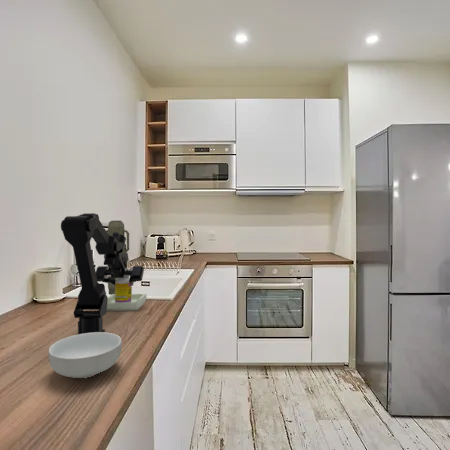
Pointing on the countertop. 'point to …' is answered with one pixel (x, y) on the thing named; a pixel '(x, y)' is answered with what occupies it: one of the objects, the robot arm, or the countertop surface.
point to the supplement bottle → (123, 290)
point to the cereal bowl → (85, 354)
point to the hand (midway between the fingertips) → (124, 284)
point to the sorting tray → (135, 304)
